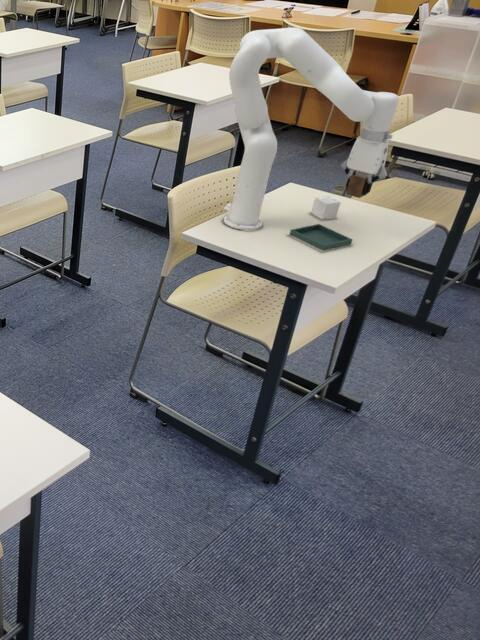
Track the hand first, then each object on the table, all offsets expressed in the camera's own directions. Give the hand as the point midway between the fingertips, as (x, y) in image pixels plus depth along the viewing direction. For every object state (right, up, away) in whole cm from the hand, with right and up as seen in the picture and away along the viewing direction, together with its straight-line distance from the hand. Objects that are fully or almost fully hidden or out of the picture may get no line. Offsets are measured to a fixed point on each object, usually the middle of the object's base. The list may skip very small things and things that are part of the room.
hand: (357, 191), depth 225 cm
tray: (-11, -15, +3) cm, 19 cm away
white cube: (-1, -4, +21) cm, 22 cm away
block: (0, -1, +1) cm, 1 cm away
